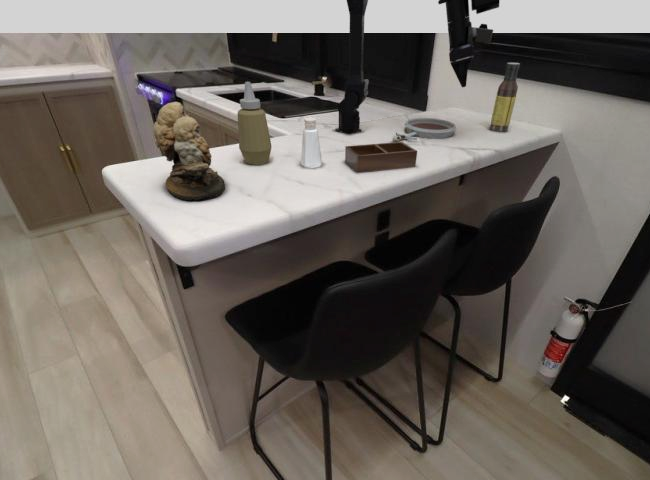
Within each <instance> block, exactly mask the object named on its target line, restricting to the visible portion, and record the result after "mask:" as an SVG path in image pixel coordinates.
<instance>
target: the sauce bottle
mask: <svg viewBox="0 0 650 480" xmlns="http://www.w3.org/2000/svg"><path fill="white" fill-rule="evenodd" d="M520 66H521V62H520V63H519V62H507V63H506V65H505V74H504V76H503V80H502V82H501V83H500V84H499V86H498V88H497V92H496V95H495V100H494V106H493V110H492V115H491V120H490V126H489V129H490V130H491V131H493V132H497V133H504V132H507V131H508V130H509V126H510V123H511V120H512V117H513V112H514V107H515V103H516V100H517V93H518V90H519V89H518V88H519V87H518V83H517V78H518V72H519V70H520Z"/></svg>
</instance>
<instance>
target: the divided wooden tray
mask: <svg viewBox="0 0 650 480" xmlns="http://www.w3.org/2000/svg"><path fill="white" fill-rule="evenodd" d="M417 158H418V150H416V149H415V148H413V147H412V146H410V145H408V144H407V143H405V142H403V141H396V142H394V141H392V142H382V143H370V144H357V145H346V146H345V148H344V162H345V163H346V164H347V165H348V167H350V168H351V169H352V170H353V171H354V172H355V173H357V174H361V173H368V172H377V171H388V170H397V169H406V168H415V167H416V165H417Z"/></svg>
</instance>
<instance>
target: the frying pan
mask: <svg viewBox="0 0 650 480" xmlns="http://www.w3.org/2000/svg"><path fill="white" fill-rule="evenodd" d="M404 126H405V130H406V134H401V133H399V132H397V131H395V135H394V136H393V137H392V138H391V139H392V142H398V141H399V140H402V139H404V140H410V141H418V137H419V138H426V139H445V138H449V137H452V136H453V134H454V132H455V131H456V130H457V126H456V124H455V123H454V122H452V121H449V120H445V119H442V118H441V119H440V118H432V117H415V118H410V119H408V120H406V121H405V122H404Z"/></svg>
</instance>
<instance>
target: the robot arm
mask: <svg viewBox="0 0 650 480" xmlns="http://www.w3.org/2000/svg"><path fill="white" fill-rule="evenodd" d="M368 3H369V0H346V4H347V9H348V13H349V41H348V42H349V43H348V45H349V51H348V52H349V53H348V54H349V55H348V57H349V58H348V59H349V60H348V76H347V80H346V84H345V89H344V97H343V99H341V101H340V102H339V103H338V104H337V105H336V108H337V110H338V111H337V112H338V127H337V128H335V129H334V130H335V131H336V132H339V133H342V134H346V135H352V134H357V133H360V132H362V131H363V129H361V128H360V125H361V124H360V123H361V122H360V121H361V117H360V111H359V110H358V109H359V108H360V106H361V105H362V104H363V103H364V102H365V100H366V99H367V96H368V95H369V90H368V87H369V83H370V80H369V79H368V78H367V79H365V76H364V47H365V46H364V44H365V15H366V10H367V6H368ZM437 3H438V5H443V4H445V11H446V22H447V32H448V42H449V43H448V44H449V52H448V56H449V57H448V58H449V63H450V66H451V67H452V69H453V72H454V74H455V76H456V78H457V80H458V82H459V84H460V86H461V88H466V86H467V81H468V70H469V64H470V63H471V62H472V61H473V59H474V56H475V47H474V45H473V44H474V42H475V43H484V44H485V45H491V41H492V38H493V33H494V29H492V28H488V24H487V23H481V24H480V25H479V26H478V27H475V26H473V25H472V24H473V23H472V21H471V18H470V9H471V11H472V12H473V11H475V13H476V15H479V14H481V13H486V12H489V11H491V10H494V9H495V10H496V9H499V8H500V0H470V5H469V0H438V2H437ZM470 7H471V8H470Z"/></svg>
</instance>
